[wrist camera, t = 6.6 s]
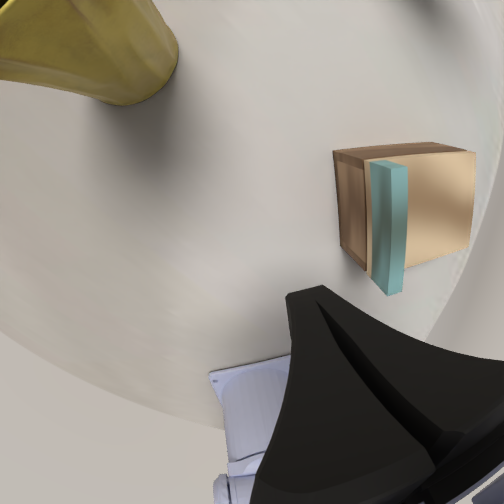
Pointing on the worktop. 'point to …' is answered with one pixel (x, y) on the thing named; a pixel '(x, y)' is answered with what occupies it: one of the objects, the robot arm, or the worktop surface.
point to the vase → (87, 47)
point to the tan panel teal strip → (416, 211)
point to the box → (354, 189)
